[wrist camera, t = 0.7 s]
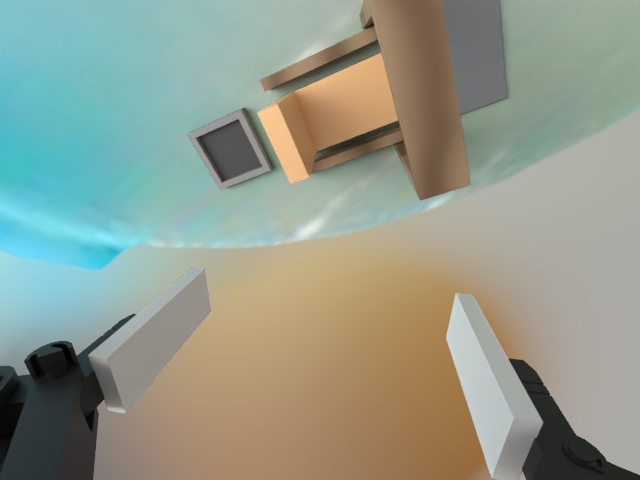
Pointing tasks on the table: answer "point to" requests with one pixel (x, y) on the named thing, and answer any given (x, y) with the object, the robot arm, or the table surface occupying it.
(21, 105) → the table surface
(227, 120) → the pad
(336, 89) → the tan l-shaped block
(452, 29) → the felt mat
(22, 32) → the table surface
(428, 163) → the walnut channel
